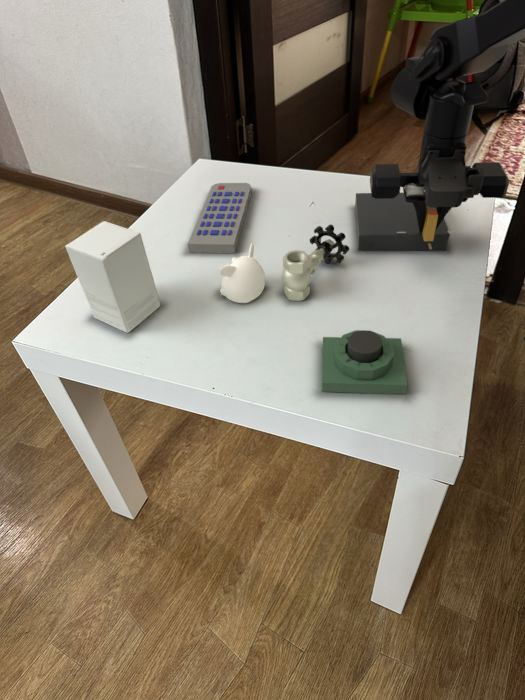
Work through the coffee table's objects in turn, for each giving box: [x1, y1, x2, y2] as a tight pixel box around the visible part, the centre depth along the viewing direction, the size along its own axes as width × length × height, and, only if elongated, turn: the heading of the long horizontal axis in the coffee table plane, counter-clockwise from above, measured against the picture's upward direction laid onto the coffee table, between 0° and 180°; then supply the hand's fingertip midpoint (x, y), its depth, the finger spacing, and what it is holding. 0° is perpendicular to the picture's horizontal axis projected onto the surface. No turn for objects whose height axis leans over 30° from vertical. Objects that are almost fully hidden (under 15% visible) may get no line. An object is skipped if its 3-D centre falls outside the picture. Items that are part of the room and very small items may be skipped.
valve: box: [281, 224, 350, 302], centre depth 74 cm, size 7×7×12 cm
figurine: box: [218, 242, 266, 304], centre depth 73 cm, size 8×6×7 cm
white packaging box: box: [64, 220, 161, 334], centre depth 70 cm, size 7×7×13 cm
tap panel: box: [354, 192, 458, 252], centre depth 83 cm, size 15×18×3 cm
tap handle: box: [422, 204, 438, 241], centre depth 77 cm, size 5×1×5 cm, turn 174°
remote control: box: [187, 182, 252, 254], centre depth 91 cm, size 8×23×2 cm, turn 173°
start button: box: [347, 329, 382, 363], centre depth 60 cm, size 4×4×2 cm
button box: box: [321, 329, 409, 395], centre depth 61 cm, size 10×8×4 cm
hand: (426, 231), depth 78 cm, fingers closed
